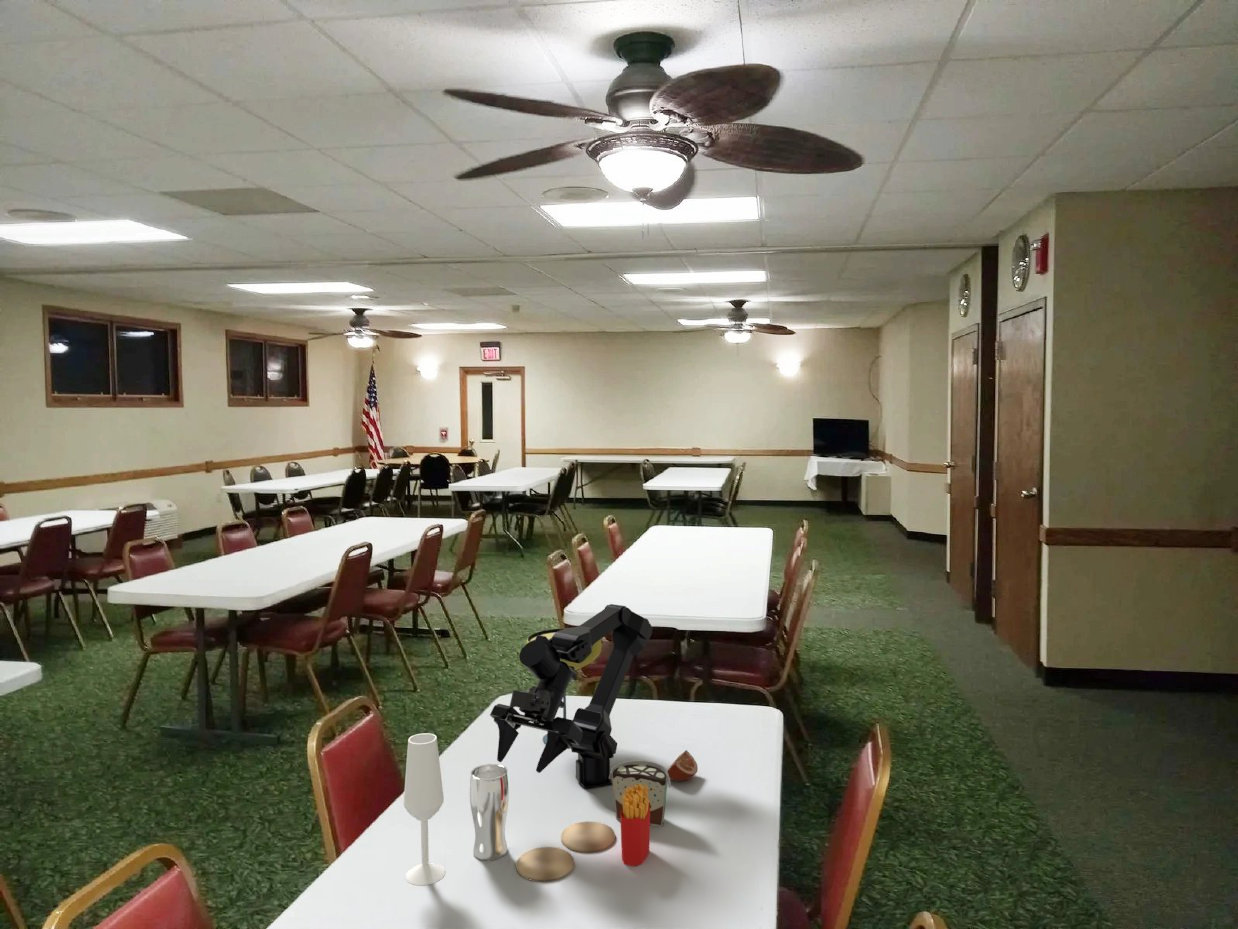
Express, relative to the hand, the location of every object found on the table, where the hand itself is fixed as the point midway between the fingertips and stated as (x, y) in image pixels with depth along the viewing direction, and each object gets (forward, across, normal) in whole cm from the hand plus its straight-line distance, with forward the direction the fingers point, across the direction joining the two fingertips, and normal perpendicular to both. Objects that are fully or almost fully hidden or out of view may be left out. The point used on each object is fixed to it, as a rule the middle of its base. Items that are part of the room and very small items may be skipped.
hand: (518, 766), depth 156 cm
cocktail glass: (-18, -18, +39) cm, 47 cm away
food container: (-2, +17, +22) cm, 28 cm away
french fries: (+7, +23, +12) cm, 27 cm away
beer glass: (+15, -1, +3) cm, 15 cm away
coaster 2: (+6, +12, +13) cm, 19 cm away
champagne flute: (+23, -6, -5) cm, 24 cm away
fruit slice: (-15, +16, +36) cm, 42 cm away
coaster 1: (+14, +11, +4) cm, 18 cm away
